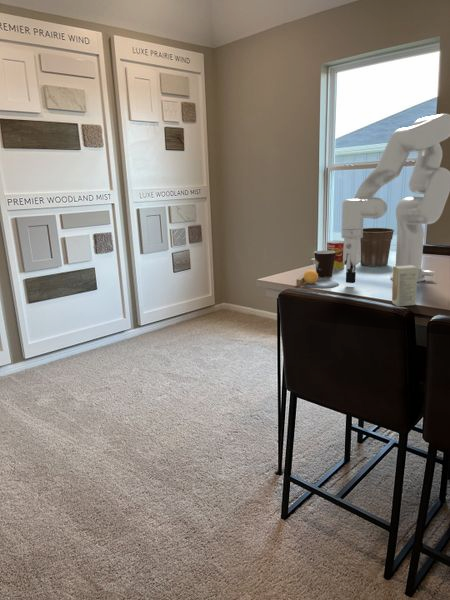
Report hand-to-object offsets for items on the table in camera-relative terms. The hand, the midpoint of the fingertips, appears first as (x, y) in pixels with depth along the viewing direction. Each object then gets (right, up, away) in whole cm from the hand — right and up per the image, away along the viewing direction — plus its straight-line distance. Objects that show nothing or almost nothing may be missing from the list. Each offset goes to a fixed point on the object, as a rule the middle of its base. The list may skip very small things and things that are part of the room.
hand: (350, 282), depth 169 cm
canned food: (+3, +8, +36) cm, 37 cm away
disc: (-10, -1, +5) cm, 11 cm away
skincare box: (+10, -8, -26) cm, 29 cm away
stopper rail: (-17, 0, +9) cm, 19 cm away
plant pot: (+22, +10, +40) cm, 47 cm away
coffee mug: (-5, +4, +22) cm, 23 cm away
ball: (-14, +2, +6) cm, 15 cm away
